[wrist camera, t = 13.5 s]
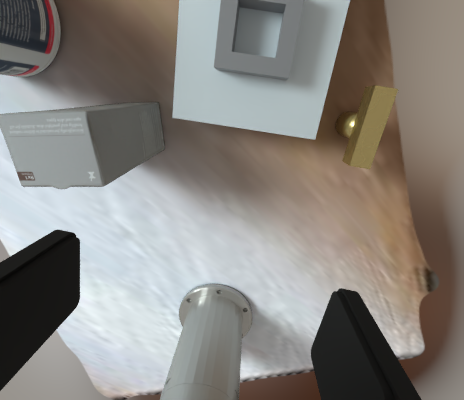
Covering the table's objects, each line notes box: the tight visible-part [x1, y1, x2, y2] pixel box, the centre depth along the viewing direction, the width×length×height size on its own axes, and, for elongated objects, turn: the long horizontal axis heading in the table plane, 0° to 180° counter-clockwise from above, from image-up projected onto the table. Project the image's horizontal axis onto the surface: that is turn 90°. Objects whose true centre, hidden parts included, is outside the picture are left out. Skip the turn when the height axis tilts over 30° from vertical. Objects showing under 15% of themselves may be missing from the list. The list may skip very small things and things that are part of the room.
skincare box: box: [0, 102, 165, 189], centre depth 29 cm, size 8×7×16 cm
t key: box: [336, 85, 398, 169], centre depth 30 cm, size 3×8×7 cm, turn 171°
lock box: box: [172, 0, 350, 140], centre depth 27 cm, size 18×16×8 cm
